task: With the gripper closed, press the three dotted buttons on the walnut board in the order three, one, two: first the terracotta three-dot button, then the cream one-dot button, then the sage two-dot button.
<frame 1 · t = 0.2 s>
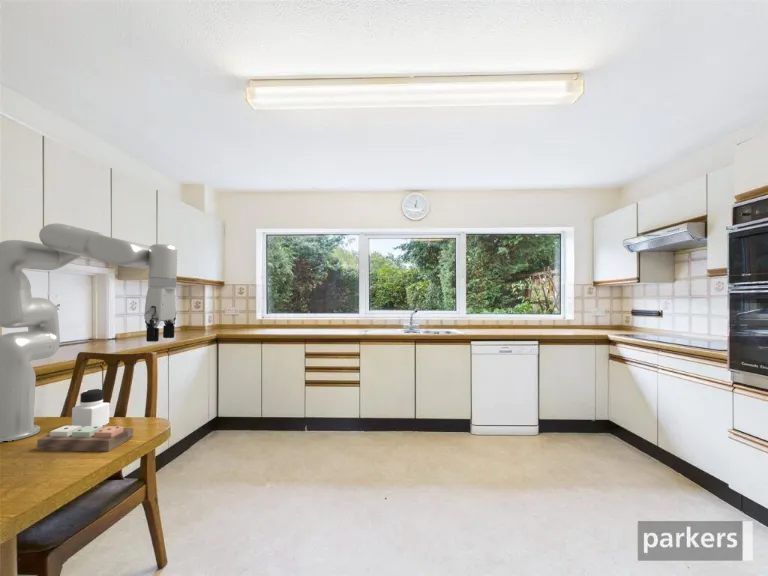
hand: (160, 339, 114), 30 cm above the table, tool pointing down, fingers open, 9 cm apart
button three terracotta: (109, 433, 108), point 3 cm above the table, slide at 0.0 cm
button board: (87, 443, 108), on the table
button one cream: (66, 432, 108), point 3 cm above the table, slide at 0.0 cm
medicine bottle: (90, 427, 122), on the table
button two sage: (87, 432, 108), point 3 cm above the table, slide at 0.0 cm
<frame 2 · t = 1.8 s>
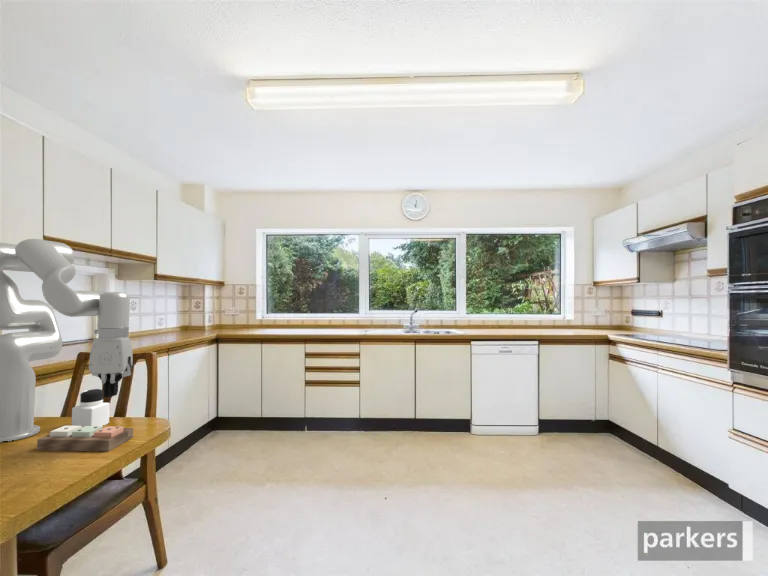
hand: (110, 395, 109), 14 cm above the table, tool pointing down, fingers closed
nothing on the table moved.
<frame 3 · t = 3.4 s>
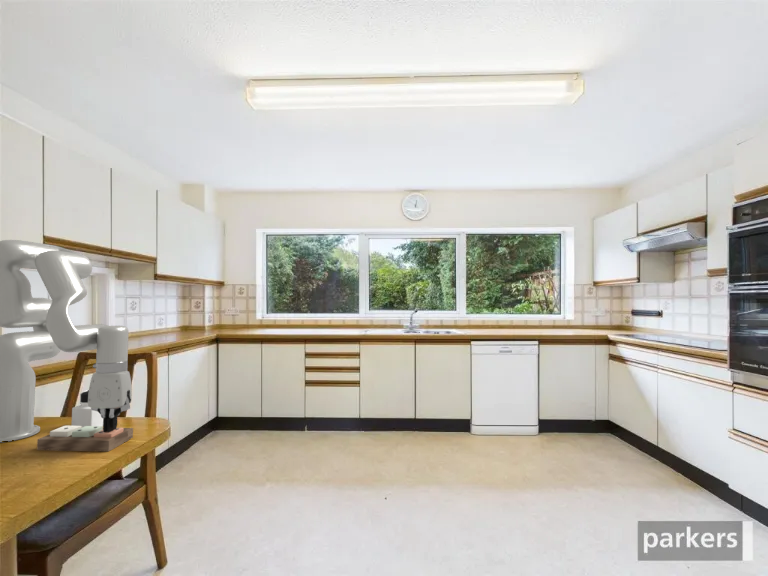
hand: (109, 430, 108), 4 cm above the table, tool pointing down, fingers closed
button three terracotta: (108, 434, 108), point 3 cm above the table, slide at 0.4 cm, touching gripper
everything else where it was.
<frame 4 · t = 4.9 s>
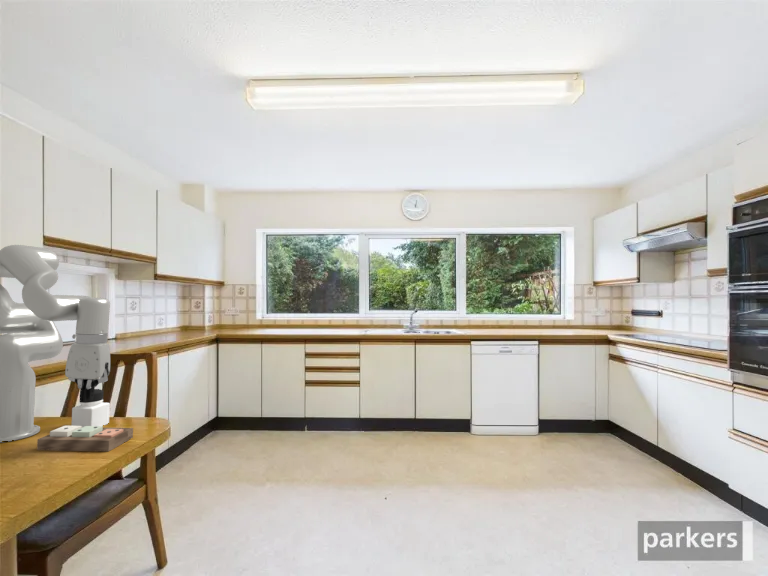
hand: (86, 401, 109), 12 cm above the table, tool pointing down, fingers closed
button three terracotta: (108, 436, 108), point 2 cm above the table, slide at 0.8 cm
everything else where it was.
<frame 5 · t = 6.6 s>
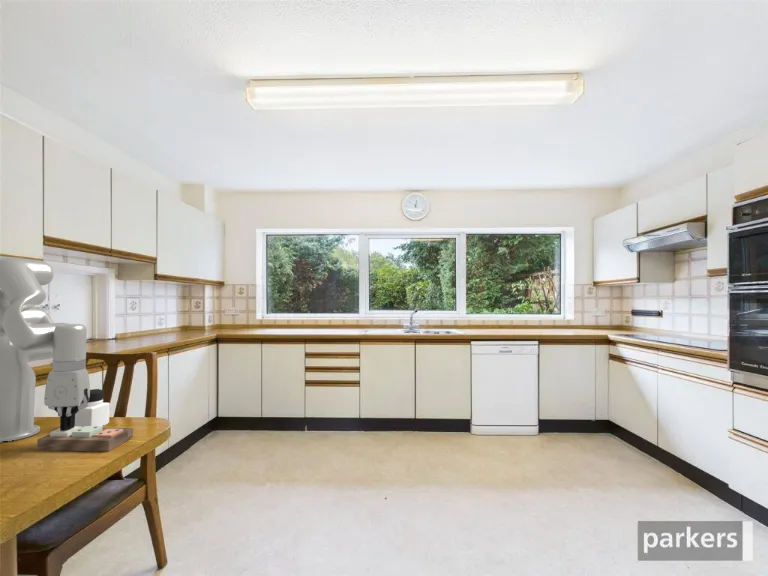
hand: (67, 428, 108), 4 cm above the table, tool pointing down, fingers closed
button one cream: (66, 433, 108), point 3 cm above the table, slide at 0.2 cm, touching gripper
everything else where it was.
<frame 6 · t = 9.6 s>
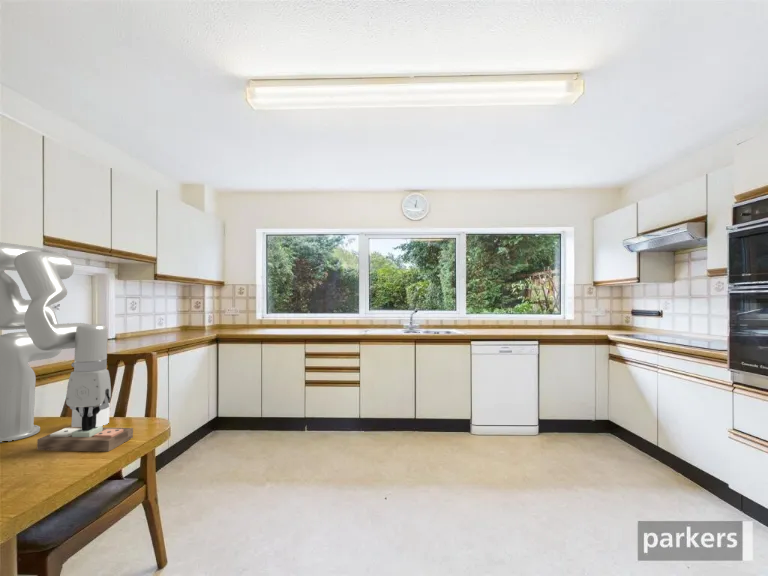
hand: (88, 428, 108), 4 cm above the table, tool pointing down, fingers closed
button one cream: (65, 435, 108), point 2 cm above the table, slide at 0.8 cm
button two sage: (87, 433, 108), point 3 cm above the table, slide at 0.1 cm, touching gripper
everything else where it was.
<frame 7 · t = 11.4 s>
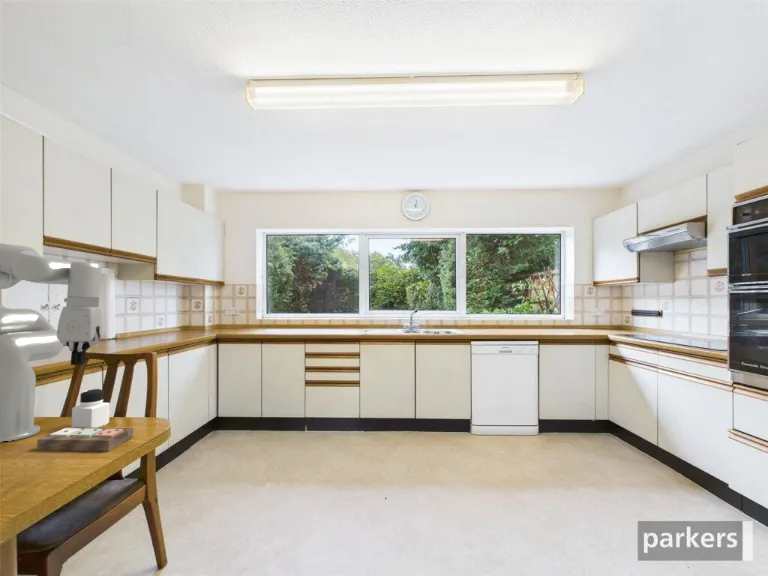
hand: (77, 364, 110), 23 cm above the table, tool pointing down, fingers closed
button two sage: (87, 435, 108), point 2 cm above the table, slide at 0.8 cm
everything else where it was.
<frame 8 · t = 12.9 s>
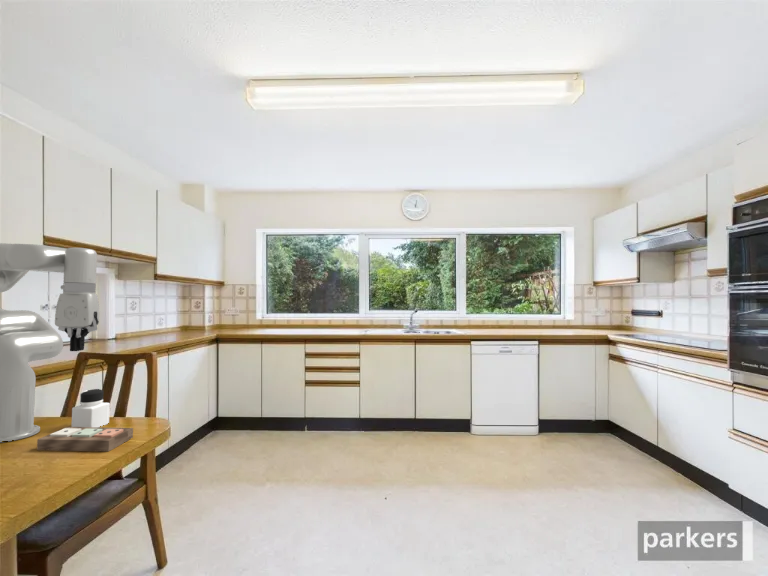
hand: (76, 350, 110), 27 cm above the table, tool pointing down, fingers closed
nothing on the table moved.
at the end: button three terracotta slide at 0.8 cm; button one cream slide at 0.8 cm; button two sage slide at 0.8 cm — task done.
